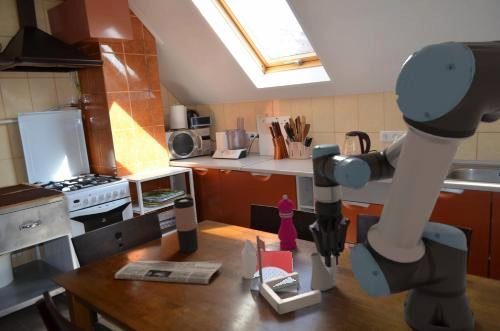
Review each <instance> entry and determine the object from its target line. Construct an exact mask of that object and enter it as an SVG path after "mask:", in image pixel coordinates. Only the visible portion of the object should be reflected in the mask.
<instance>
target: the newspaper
mask: <svg viewBox="0 0 500 331" xmlns="http://www.w3.org/2000/svg"><path fill="white" fill-rule="evenodd" d="M223 262H224V260H206V261H205V260H204V261H201V260H200V261H180V262H179V261H165V260H151V259H149V260H148V259H138V260H136V261H131V262H129V263H127V264H126V265H124V266H123V267H122V268H120V269H119V270H118V271H117V272H116V273H114V279H116V280H117V279H120V280H121V279H122V280H123V279H124V280H134V281H135V280H136V281H152V282H155V281H156V282H167V283H168V282H169V283H183V284H184V283H186V284H187V283H188V284H202V285H209V282H210V280H211V278H212V276H213V274H215V273H217V272H219V271H220V268H221V266H222V265H223Z"/></svg>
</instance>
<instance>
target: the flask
mask: <svg viewBox="0 0 500 331" xmlns="http://www.w3.org/2000/svg"><path fill="white" fill-rule="evenodd" d="M309 257H310V259H311V265H312V270H311V279H310V288H311V289H312V291H314V290H319V291H321V292H323V291H324V292H325V291H327V290H330V289H332V288H334V286H335V280H334V279H335V278H332V276H331V275H330V273H329V272H328V270H327V268H326V266H325V263H324V262H323V260H322V258H321V253H320V252H319V251H313V252H310V254H309Z"/></svg>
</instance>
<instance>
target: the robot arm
mask: <svg viewBox="0 0 500 331" xmlns="http://www.w3.org/2000/svg"><path fill="white" fill-rule="evenodd" d="M395 95H396V96H398V97H397V98H396V100H395V101H396V104H397V107H398V109H399V111H400V112H401V113H402V116H401V119H402V121H403V123H404V124H405V126H406V128H407V131H406V132H404V133H403V134H402V135H401V136H400V137H399V138H397V139H396V140H395V141H394V142H392V143H391V144H390V145H389V146H387V147H386V148H385V149H383V150H381V151H375V152H369V153H368V152H367V153H360V154H354V155H351V154H350V155H342V154H341V150H340V147H339V145H338V144H334V143H325V144H317V145H315V146H313V147H312V152H311V153H312V158H311V162H312V172H313V174H312V176H313V187H314V188H313V189H314V190H313V191H314V198H315V201H314V206H315V208H314V209H315V210H314V211H315V215H316V217H315V220H314V221H315V222H313V223H312V224H309V225H308V226H307V227H308V229H309V231H310V232H311V235H312V237H313V240H314V241H313V242H314V244H315V247H316V250H317V251H319V252H320V253H321V255H320V257H321V256H322V257H323V258H324V266H325V267H327V268H326V269H327V271H328V272H329V273H330V275H331V276H332V278H333V279H336V278H337V277H338V275H337V266H339V257H340V256H341V253H344V251H345V245H346V240H347V234H348V228H349V225H350V224H351V220H350V218H347V217H344V215H343V199H341V198H342V196H343V194H342V193H343V191H342V187H344V188H348V189H352V190H353V189H354V190H355V189H357V190H358V189H362V187H364V186H365V185H367V184H368V183H375V182H379V181H381V182H382V181H385V180H391V182H390V186H389V188H388V192H387V196H386V198H385V202H384V205H383V208H382V212H381V215H380V216H379V217H380V219H378V220H379V221H378V222H377V223H375V224H373V225H372V226H371V227H370V228H369V229H368V231H367V234H366V236H365V240H364V242H363V243H357V244H354V245H353V246H351V249H350V252H349V261H350V262H349V263H350V267H351V269H352V273H353V275H354V278H355V280H356V281H357V283H358V285H359V287H360V288H361V289H362V290H363V292H365V294H367V295H368V296H370V297H373V298H382V297H390V296H393V295H397V294H399V293H404V292H407V293H406V294H407V295H406V297H405V300H404V302H403V306H402V310H403V311H402V315H403V319H404V320H405V322H406V323H407V324H408V325H409V326H410V327H411V328H413V329H415V330H416V331H474V330H475V322H476V321H475V320H476V318H475V314H474V312H473V310H472V308H471V305H470V301H469V298H468V295H467V266H468V265H467V264H468V263H467V262H468V261H467V260H468V250H469V249H468V246H467V237H466V234H465V233H464V231H462V230H461V229H460V228H458V227H455V226H453V225H449V224H445V223H440V222H433V221H429V220H430V219H431V215H432V213H433V210H434V209H435V206H436V203H437V200H438V199H439V196H440V193H441V190H442V189H443V186H444V183H445V181H446V178H447V176H448V174H449V172H450V169H451V166H452V164H453V162H454V158H455V156H456V153H457V151H458V148H459V147H460V143H461V142H463V141H466V140H468V139H471V138H473V137H474V136H475V134H476V131H477V129H478V127H479V126H480V125H482V124H493V123H495V122H497V121H499V120H500V40H491V41H489V40H488V41H453V40H452V41H445V42H441V43H434V44H429V45H425V46H423V47H420V48H419V49H418V50H417V51H414V52H413V53H412V54H411V55H410V56H409V57H408V58H406V60H405V62H404V63H403V65H402V67H401V68H400V70H399V73H398V75H397V78H396V83H395ZM319 231H320V232H321V233H320V232H319ZM321 234H322V235H321ZM321 236H322V238H321Z"/></svg>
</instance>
